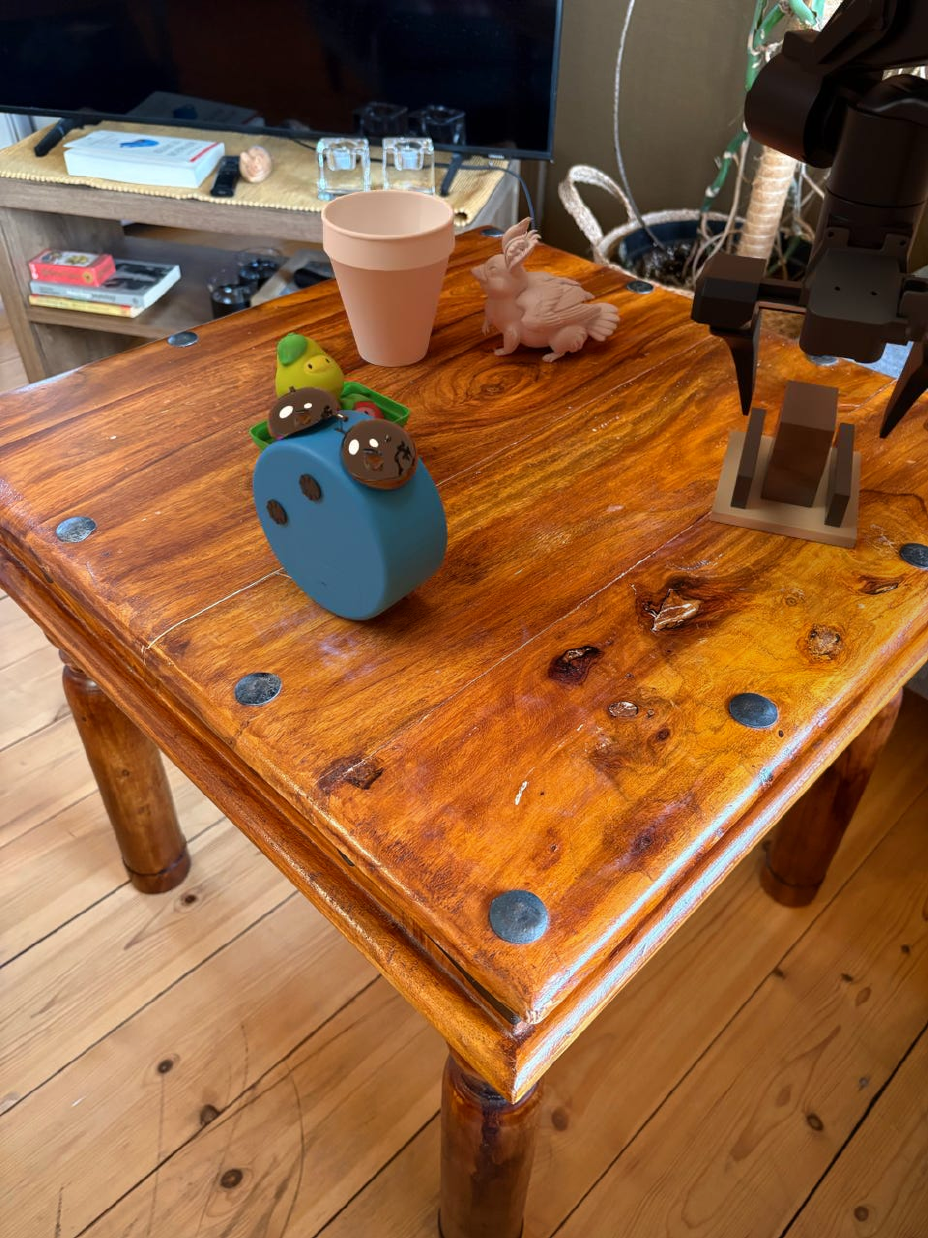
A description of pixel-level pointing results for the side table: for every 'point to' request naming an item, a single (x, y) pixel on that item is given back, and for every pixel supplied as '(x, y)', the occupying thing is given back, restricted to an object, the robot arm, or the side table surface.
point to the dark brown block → (800, 443)
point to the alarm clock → (347, 505)
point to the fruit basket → (323, 385)
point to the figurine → (538, 301)
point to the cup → (389, 268)
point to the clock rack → (821, 523)
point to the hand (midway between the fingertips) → (813, 424)
